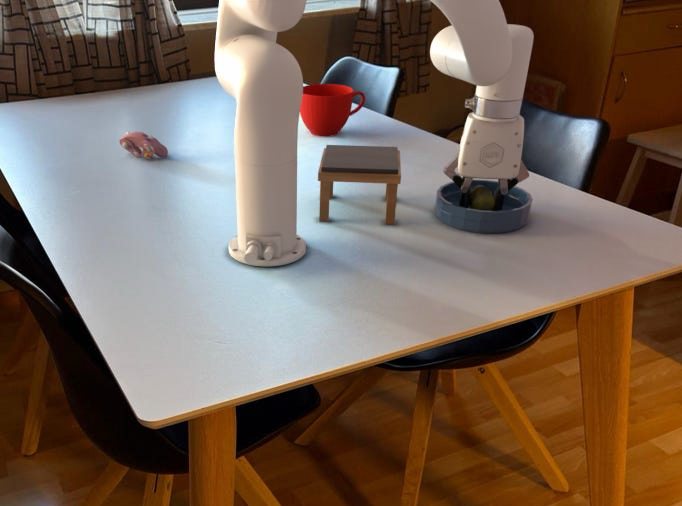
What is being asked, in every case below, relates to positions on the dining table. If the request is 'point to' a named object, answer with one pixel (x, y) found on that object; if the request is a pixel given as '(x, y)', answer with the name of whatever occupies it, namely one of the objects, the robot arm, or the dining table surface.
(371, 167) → the stool
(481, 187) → the lime
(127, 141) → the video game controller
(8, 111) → the dining table surface
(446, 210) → the bowl
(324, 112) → the ceramic cup
